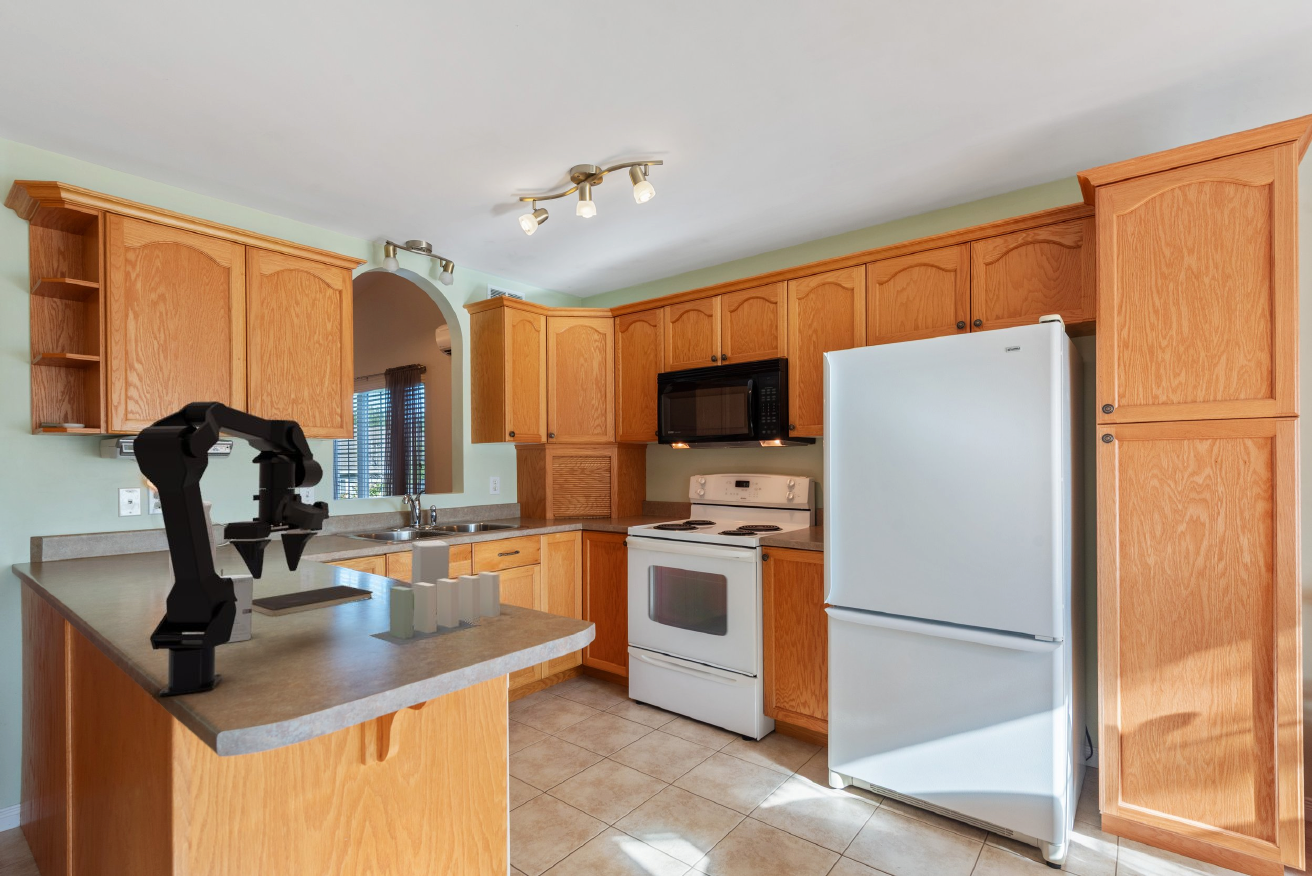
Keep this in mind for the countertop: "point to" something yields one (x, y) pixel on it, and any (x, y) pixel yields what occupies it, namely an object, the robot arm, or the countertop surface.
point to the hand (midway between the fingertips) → (275, 574)
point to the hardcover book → (308, 600)
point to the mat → (423, 633)
